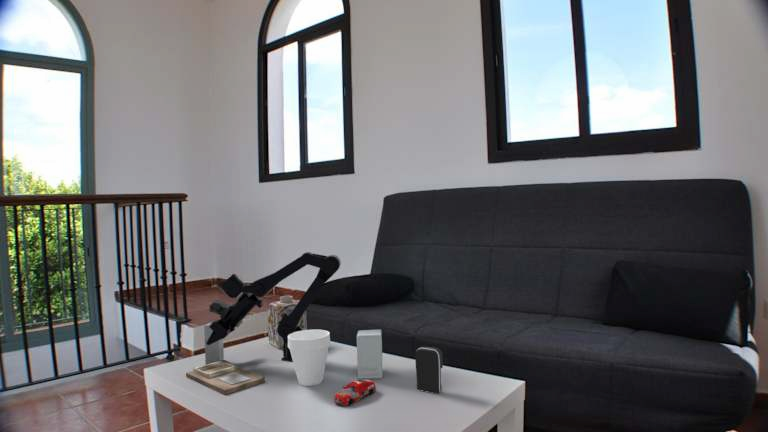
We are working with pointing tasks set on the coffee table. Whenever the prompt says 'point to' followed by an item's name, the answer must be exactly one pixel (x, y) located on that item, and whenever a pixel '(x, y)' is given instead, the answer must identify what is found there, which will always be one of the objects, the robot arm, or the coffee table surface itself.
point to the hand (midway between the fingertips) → (209, 342)
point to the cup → (309, 354)
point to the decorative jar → (276, 314)
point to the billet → (212, 347)
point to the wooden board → (224, 377)
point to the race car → (355, 392)
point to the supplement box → (369, 354)
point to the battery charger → (429, 369)
